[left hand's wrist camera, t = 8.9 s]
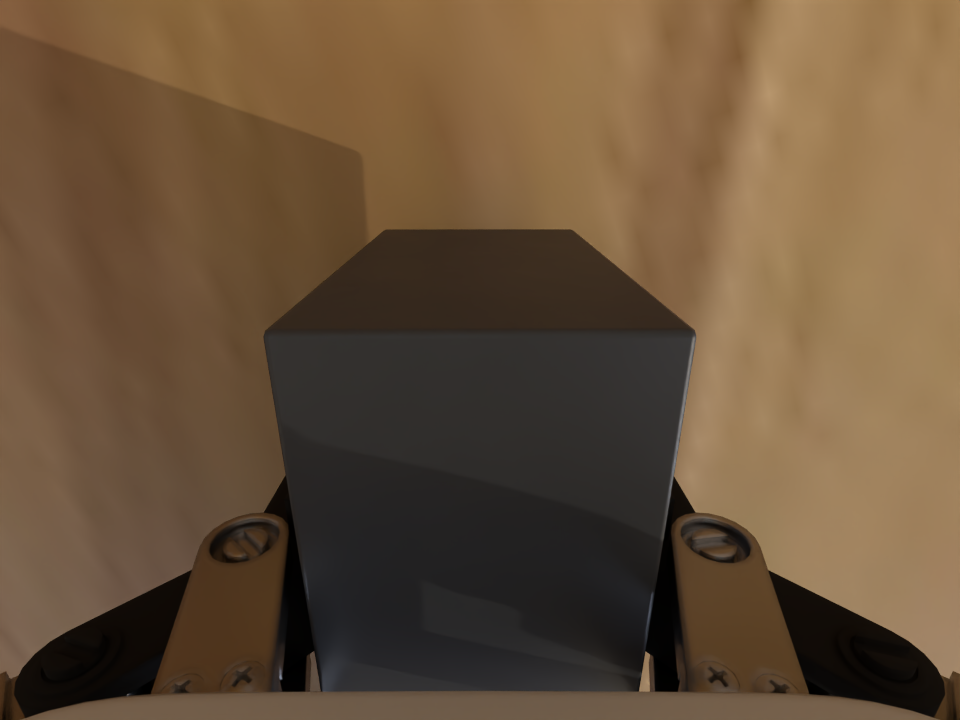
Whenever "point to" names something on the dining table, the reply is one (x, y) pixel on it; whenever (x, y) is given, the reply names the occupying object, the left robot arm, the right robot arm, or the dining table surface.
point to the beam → (479, 461)
